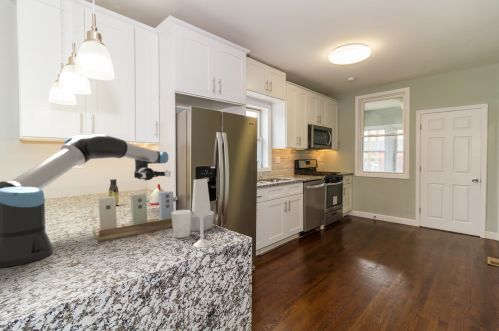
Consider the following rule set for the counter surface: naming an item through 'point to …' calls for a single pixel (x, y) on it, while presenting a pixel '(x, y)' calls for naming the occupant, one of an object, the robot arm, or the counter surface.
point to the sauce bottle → (113, 190)
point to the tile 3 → (165, 205)
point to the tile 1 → (107, 213)
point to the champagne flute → (201, 207)
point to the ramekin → (206, 221)
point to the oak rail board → (132, 229)
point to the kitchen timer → (155, 196)
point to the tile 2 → (138, 208)
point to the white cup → (181, 223)
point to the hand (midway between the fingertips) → (157, 174)
